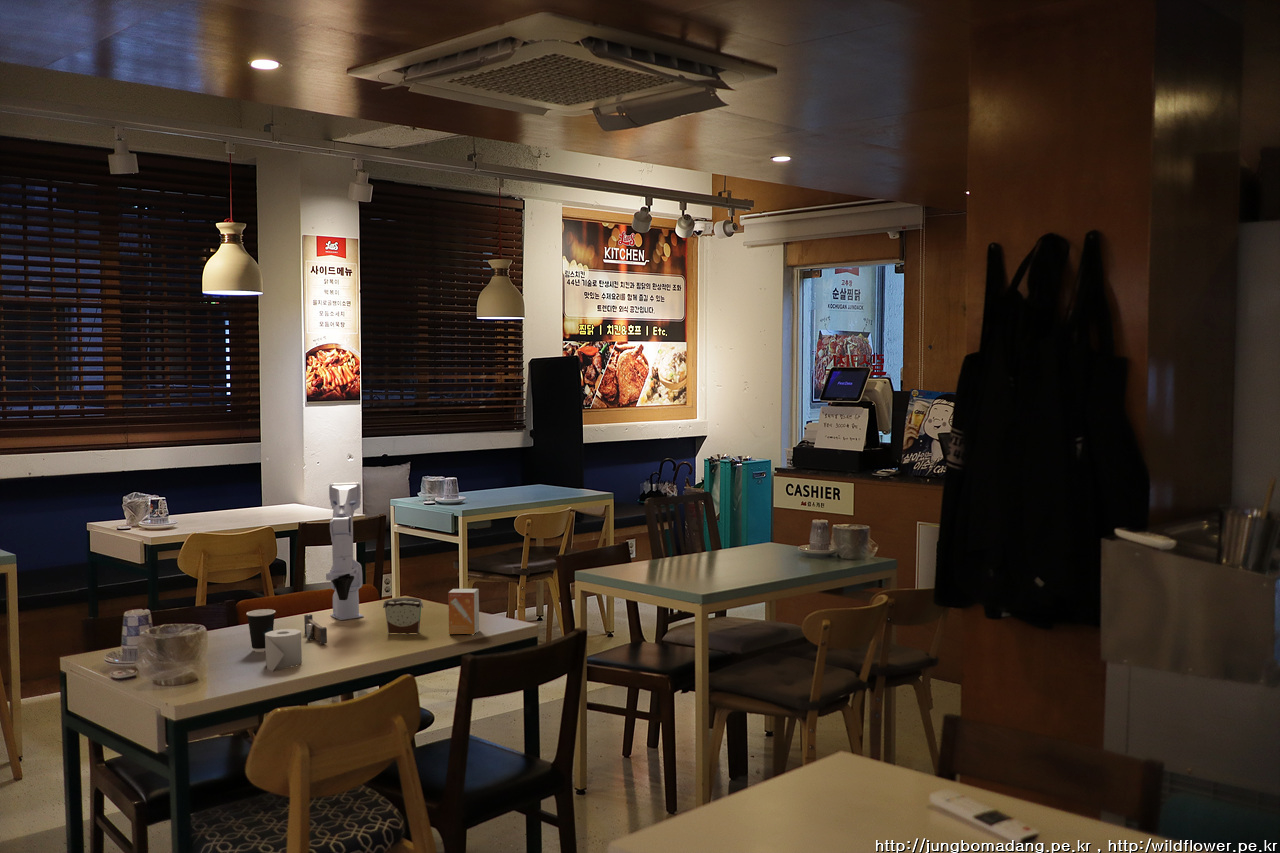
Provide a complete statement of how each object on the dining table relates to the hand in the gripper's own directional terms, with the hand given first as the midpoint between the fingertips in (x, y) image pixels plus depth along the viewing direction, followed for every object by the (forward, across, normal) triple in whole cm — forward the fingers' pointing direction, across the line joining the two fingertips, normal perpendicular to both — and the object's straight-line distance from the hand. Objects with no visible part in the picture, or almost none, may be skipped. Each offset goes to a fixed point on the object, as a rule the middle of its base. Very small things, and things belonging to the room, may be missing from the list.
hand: (343, 599), depth 336 cm
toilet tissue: (+10, +42, +8) cm, 44 cm away
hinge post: (+9, +6, -8) cm, 14 cm away
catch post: (+9, +13, -3) cm, 17 cm away
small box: (+10, -5, +38) cm, 40 cm away
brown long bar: (+9, +13, -1) cm, 16 cm away
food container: (+10, -2, +20) cm, 23 cm away
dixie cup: (+10, +28, -8) cm, 31 cm away
